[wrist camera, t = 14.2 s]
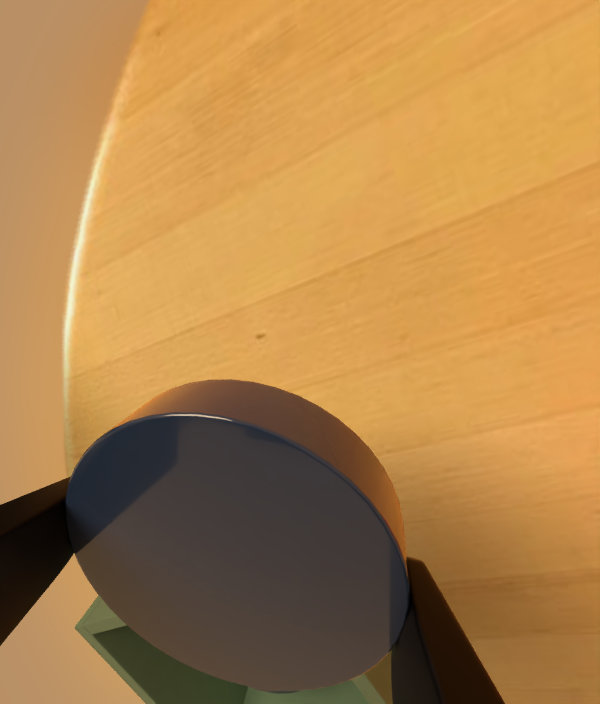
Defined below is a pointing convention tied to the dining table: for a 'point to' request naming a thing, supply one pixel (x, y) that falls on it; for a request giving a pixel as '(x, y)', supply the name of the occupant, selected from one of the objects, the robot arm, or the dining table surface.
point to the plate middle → (244, 536)
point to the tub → (200, 688)
